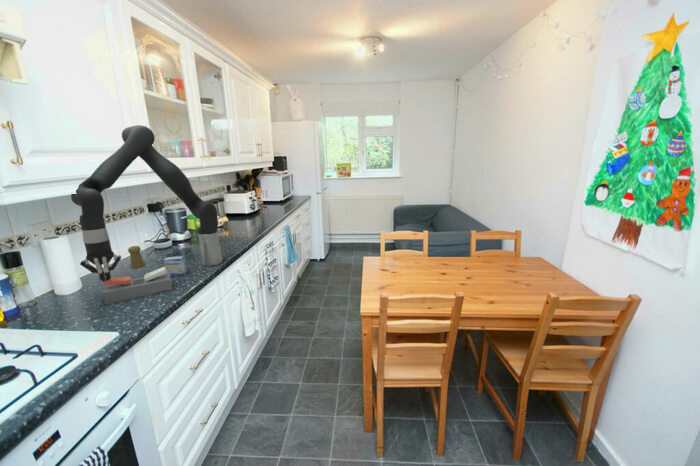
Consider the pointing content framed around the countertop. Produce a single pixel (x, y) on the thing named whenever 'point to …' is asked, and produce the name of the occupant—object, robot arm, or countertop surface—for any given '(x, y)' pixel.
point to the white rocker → (155, 273)
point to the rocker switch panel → (136, 288)
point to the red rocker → (118, 280)
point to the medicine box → (175, 265)
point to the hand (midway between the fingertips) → (106, 280)
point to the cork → (136, 257)
